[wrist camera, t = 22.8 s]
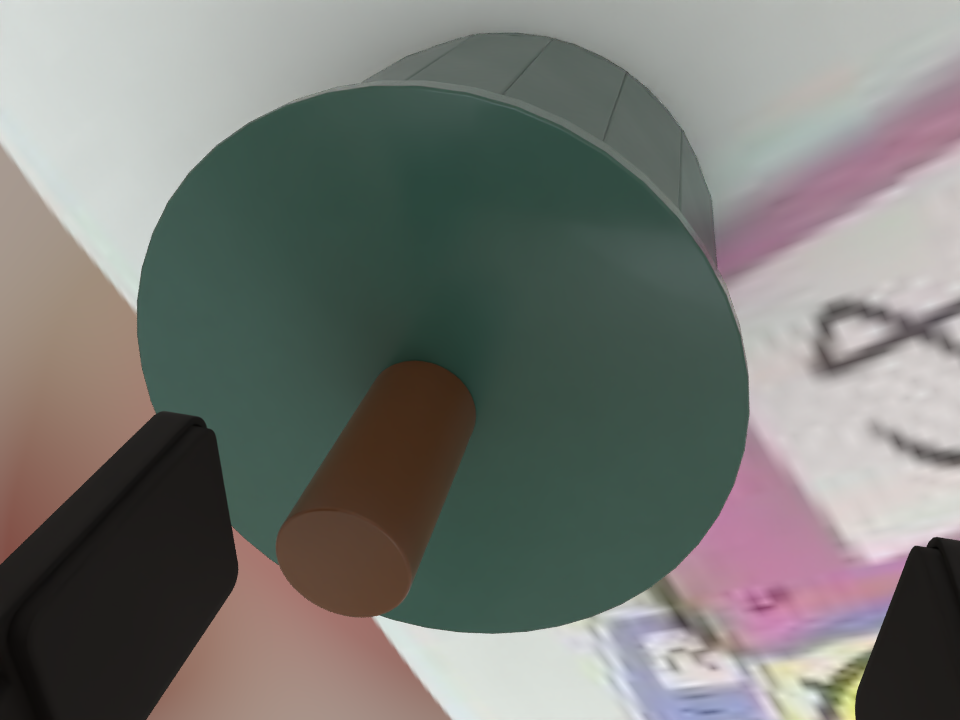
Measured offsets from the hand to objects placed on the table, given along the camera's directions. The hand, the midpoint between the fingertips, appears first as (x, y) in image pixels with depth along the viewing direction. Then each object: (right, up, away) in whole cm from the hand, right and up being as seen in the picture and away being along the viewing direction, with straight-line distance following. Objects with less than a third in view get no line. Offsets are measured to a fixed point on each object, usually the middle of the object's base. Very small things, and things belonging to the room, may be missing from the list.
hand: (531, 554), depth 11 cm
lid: (-2, +2, +7) cm, 8 cm away
